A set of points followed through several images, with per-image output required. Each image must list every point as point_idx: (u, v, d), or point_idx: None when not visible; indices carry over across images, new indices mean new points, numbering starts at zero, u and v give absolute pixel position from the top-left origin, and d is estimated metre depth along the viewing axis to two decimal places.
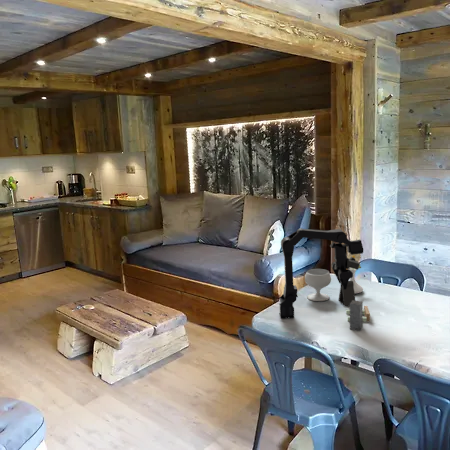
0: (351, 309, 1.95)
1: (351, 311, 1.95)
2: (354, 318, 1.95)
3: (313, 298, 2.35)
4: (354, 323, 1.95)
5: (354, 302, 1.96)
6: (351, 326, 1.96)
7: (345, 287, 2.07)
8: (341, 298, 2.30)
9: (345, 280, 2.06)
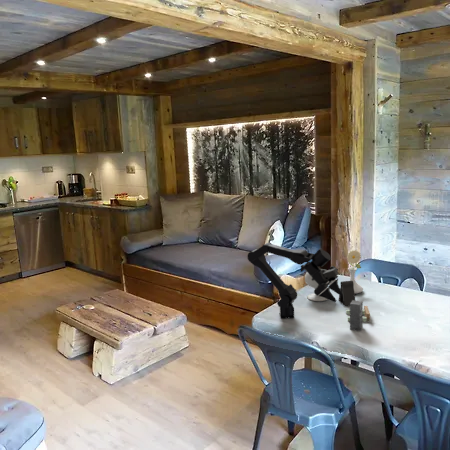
0: (351, 309, 1.95)
1: (351, 311, 1.95)
2: (354, 318, 1.95)
3: (313, 298, 2.35)
4: (354, 323, 1.95)
5: (354, 302, 1.96)
6: (351, 326, 1.96)
7: (334, 300, 1.96)
8: (341, 298, 2.30)
9: (327, 294, 1.96)
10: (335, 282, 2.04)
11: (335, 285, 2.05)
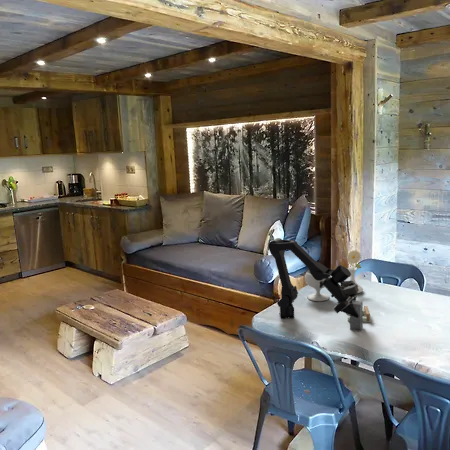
0: None
1: None
2: (354, 318, 1.95)
3: (313, 298, 2.35)
4: (354, 323, 1.95)
5: (354, 302, 1.96)
6: (351, 326, 1.96)
7: (356, 315, 1.94)
8: None
9: (349, 309, 1.94)
10: None
11: None
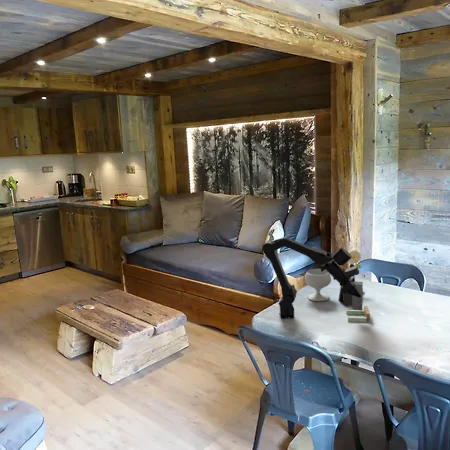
0: None
1: None
2: (356, 298, 2.02)
3: (313, 298, 2.35)
4: (357, 303, 2.02)
5: (355, 283, 2.02)
6: (353, 306, 2.03)
7: (358, 295, 2.00)
8: (341, 298, 2.30)
9: (353, 290, 2.00)
10: None
11: None
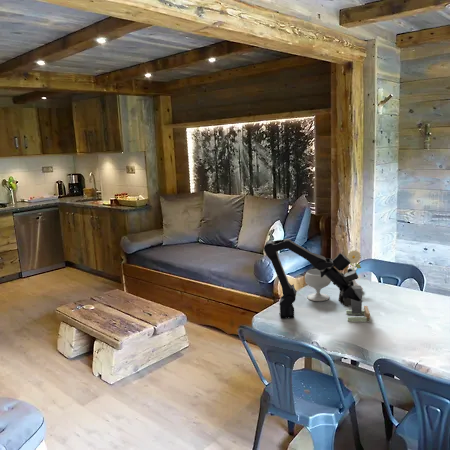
0: None
1: None
2: (356, 302, 2.06)
3: (313, 298, 2.35)
4: (356, 306, 2.06)
5: (354, 287, 2.07)
6: (353, 310, 2.07)
7: (358, 299, 2.05)
8: (341, 298, 2.30)
9: (352, 294, 2.04)
10: (351, 285, 2.10)
11: None
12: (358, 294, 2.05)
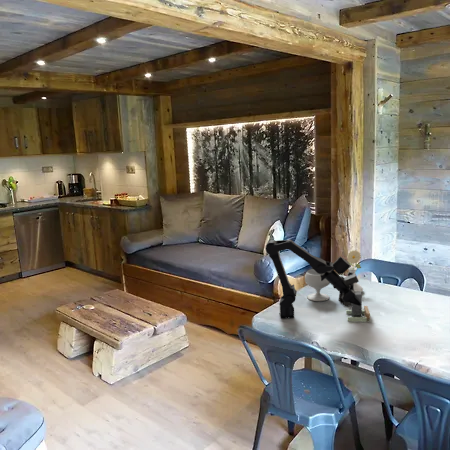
0: None
1: None
2: (356, 308, 2.06)
3: (313, 298, 2.35)
4: (356, 312, 2.07)
5: None
6: (353, 316, 2.07)
7: (359, 303, 2.04)
8: (341, 298, 2.30)
9: (353, 298, 2.03)
10: (351, 288, 2.11)
11: None
12: (358, 300, 2.06)
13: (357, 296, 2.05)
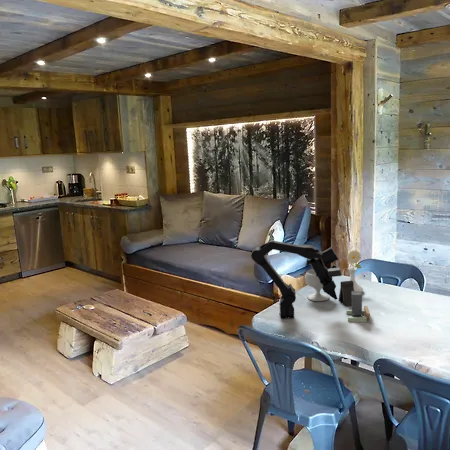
0: (353, 299, 2.06)
1: (353, 301, 2.06)
2: (356, 308, 2.06)
3: (313, 298, 2.35)
4: (357, 312, 2.07)
5: (355, 293, 2.07)
6: (353, 316, 2.07)
7: (335, 297, 2.05)
8: (341, 298, 2.30)
9: (332, 291, 2.04)
10: (330, 280, 2.15)
11: None
12: (358, 300, 2.05)
13: (357, 296, 2.05)
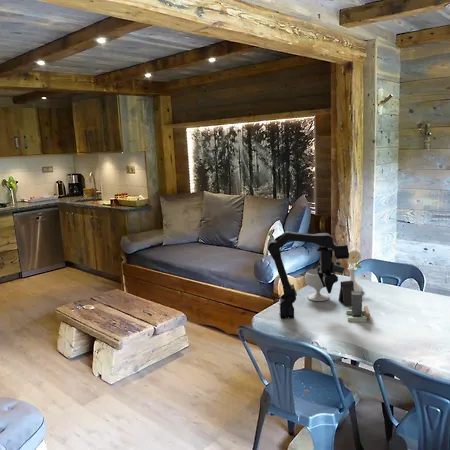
0: (353, 299, 2.06)
1: (353, 301, 2.06)
2: (356, 308, 2.06)
3: (313, 298, 2.35)
4: (357, 312, 2.07)
5: (355, 293, 2.07)
6: (353, 316, 2.07)
7: (329, 291, 2.07)
8: (341, 298, 2.30)
9: (330, 284, 2.05)
10: None
11: None
12: (358, 300, 2.05)
13: (357, 296, 2.05)
